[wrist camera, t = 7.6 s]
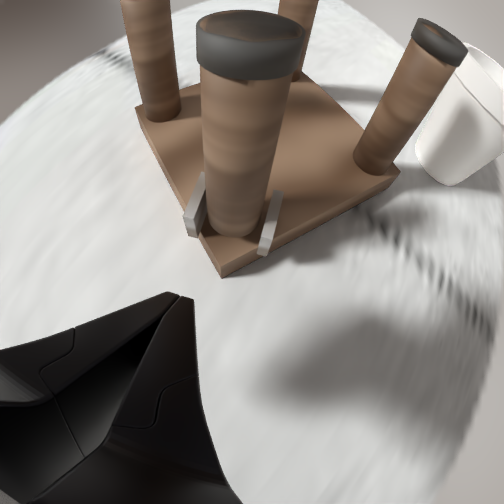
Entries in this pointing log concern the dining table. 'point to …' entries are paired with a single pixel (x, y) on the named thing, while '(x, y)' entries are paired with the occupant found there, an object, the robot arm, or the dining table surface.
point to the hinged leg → (243, 109)
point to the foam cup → (465, 121)
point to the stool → (284, 132)
